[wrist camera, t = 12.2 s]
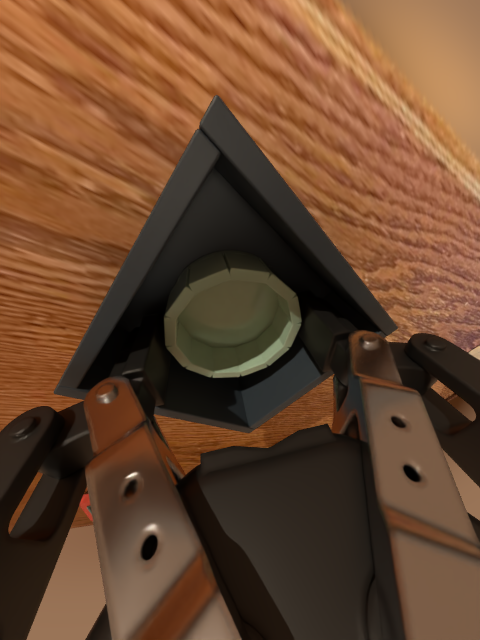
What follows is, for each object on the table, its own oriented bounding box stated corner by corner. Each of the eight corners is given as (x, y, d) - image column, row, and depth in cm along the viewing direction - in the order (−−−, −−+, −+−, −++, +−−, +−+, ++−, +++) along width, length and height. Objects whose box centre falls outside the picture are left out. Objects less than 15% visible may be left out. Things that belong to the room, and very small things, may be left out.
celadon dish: (218, 219, 8) (225, 232, 6) (303, 294, 11) (325, 318, 9) (148, 319, 11) (137, 352, 9) (235, 359, 14) (242, 389, 12)
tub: (206, 136, 7) (216, 91, 3) (338, 283, 12) (399, 328, 9) (100, 321, 11) (51, 394, 7) (237, 375, 16) (249, 433, 12)
